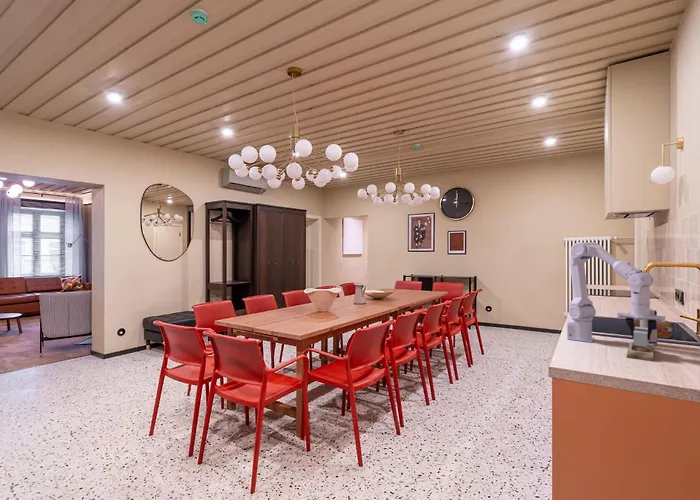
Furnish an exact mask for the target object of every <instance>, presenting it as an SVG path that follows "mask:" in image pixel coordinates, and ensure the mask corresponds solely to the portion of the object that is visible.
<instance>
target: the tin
mask: <svg viewBox="0 0 700 500" xmlns="http://www.w3.org/2000/svg"><path fill="white" fill-rule="evenodd" d="M635 327H640V320H637V319H634V329H635ZM674 333H675V327H674V326H673V324H672V323H671V322H669V321H668V320H666V319H665V322H660V321H657V339H669V338H670V337H672V336H673V334H674Z"/></svg>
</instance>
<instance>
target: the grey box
mask: <svg viewBox="0 0 700 500" xmlns="http://www.w3.org/2000/svg"><path fill="white" fill-rule="evenodd" d="M647 336H648V328H643V327H635V329H634V338H633V342H634V345H635V346H643V347H647V345H648V339H647Z"/></svg>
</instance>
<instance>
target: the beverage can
mask: <svg viewBox="0 0 700 500" xmlns="http://www.w3.org/2000/svg"><path fill="white" fill-rule="evenodd" d="M650 315H656V316H658V313H657V309H655V308H650ZM643 319H647V318H643ZM640 327H643V328H648V320H640ZM648 344H652V345H653V346H656V345H657V344H658V338H657V321H656V325H655V326H654V328H653V330H652V332H651V335H650V340H648Z"/></svg>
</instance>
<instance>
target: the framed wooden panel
mask: <svg viewBox="0 0 700 500" xmlns="http://www.w3.org/2000/svg"><path fill="white" fill-rule="evenodd" d="M626 358H629V359H634V360H635V359H636V360H640V361H641V360H642V361H648V362H655V347H654V345H652V344H648V345H647V347H643V346H635V345H634V341H629V345H628V348H627V352H626Z"/></svg>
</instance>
